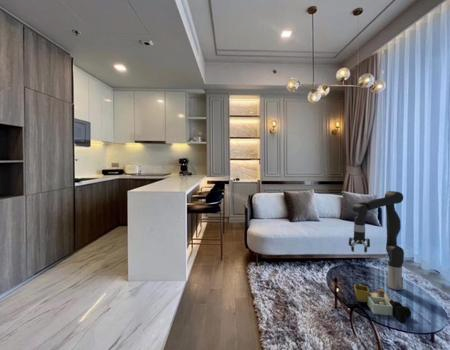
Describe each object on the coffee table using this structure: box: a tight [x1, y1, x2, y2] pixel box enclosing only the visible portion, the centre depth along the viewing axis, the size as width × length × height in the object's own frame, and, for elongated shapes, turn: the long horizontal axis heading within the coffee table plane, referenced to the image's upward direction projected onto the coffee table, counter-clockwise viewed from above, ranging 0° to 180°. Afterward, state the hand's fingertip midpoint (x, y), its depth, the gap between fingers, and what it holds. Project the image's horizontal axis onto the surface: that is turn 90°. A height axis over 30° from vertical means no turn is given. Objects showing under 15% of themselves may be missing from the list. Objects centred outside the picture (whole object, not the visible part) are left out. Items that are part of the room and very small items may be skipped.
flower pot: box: [353, 284, 371, 303], centre depth 179 cm, size 9×9×9 cm
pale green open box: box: [367, 295, 393, 316], centre depth 166 cm, size 11×11×6 cm
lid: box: [369, 288, 392, 302], centre depth 179 cm, size 12×12×7 cm
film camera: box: [389, 299, 412, 324], centre depth 159 cm, size 15×10×9 cm, turn 174°
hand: (359, 251), depth 188 cm, fingers open, 8 cm apart
